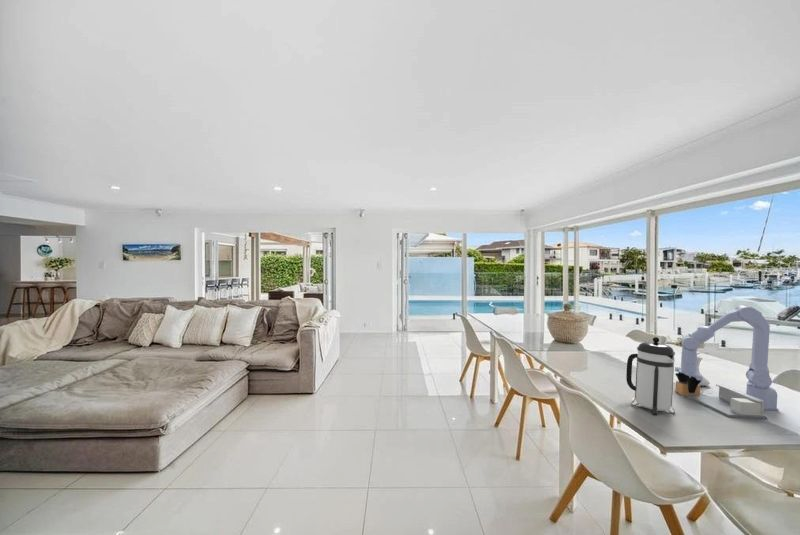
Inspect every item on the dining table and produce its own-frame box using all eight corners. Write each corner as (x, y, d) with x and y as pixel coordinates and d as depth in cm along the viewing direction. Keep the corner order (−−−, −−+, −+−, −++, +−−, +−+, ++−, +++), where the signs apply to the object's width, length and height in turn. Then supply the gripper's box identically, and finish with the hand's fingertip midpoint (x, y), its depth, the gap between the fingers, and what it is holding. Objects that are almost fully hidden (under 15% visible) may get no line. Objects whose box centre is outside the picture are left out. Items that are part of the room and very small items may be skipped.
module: (692, 392, 172) (693, 382, 172) (699, 396, 168) (700, 385, 168) (675, 391, 173) (675, 380, 173) (682, 394, 168) (682, 384, 168)
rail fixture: (720, 399, 165) (720, 383, 165) (767, 419, 143) (768, 402, 143) (686, 397, 166) (687, 382, 166) (728, 417, 144) (729, 399, 144)
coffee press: (673, 407, 151) (677, 337, 151) (676, 420, 138) (680, 342, 138) (625, 397, 161) (628, 331, 161) (623, 408, 148) (627, 336, 148)
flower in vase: (715, 388, 180) (717, 339, 180) (690, 386, 182) (692, 337, 182) (698, 380, 193) (700, 334, 193) (674, 378, 195) (677, 332, 195)
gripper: (669, 357, 178) (667, 385, 178) (692, 366, 163) (690, 395, 163) (683, 358, 177) (682, 386, 178) (708, 367, 163) (706, 396, 163)
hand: (687, 390), depth 170 cm, fingers closed on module, 5 cm apart
